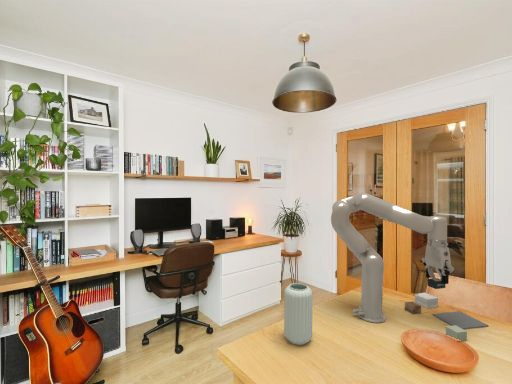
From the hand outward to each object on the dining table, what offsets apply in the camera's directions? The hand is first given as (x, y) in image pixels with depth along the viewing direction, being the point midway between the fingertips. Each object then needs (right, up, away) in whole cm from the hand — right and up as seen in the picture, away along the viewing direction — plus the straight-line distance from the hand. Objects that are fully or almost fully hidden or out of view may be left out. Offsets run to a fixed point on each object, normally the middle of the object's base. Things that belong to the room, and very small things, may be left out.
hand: (436, 280), depth 125 cm
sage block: (0, -21, -12) cm, 24 cm away
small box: (+8, -20, +20) cm, 29 cm away
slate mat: (+13, -20, +3) cm, 24 cm away
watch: (0, -3, 0) cm, 3 cm away
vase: (-67, -20, -13) cm, 71 cm away
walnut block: (-4, -20, +12) cm, 24 cm away
